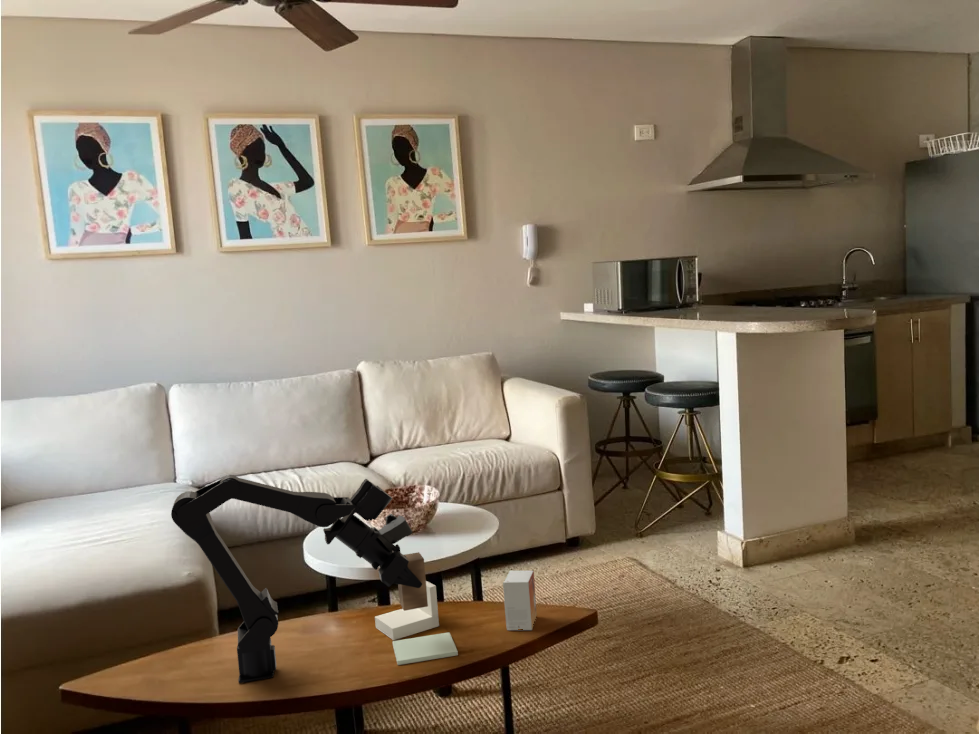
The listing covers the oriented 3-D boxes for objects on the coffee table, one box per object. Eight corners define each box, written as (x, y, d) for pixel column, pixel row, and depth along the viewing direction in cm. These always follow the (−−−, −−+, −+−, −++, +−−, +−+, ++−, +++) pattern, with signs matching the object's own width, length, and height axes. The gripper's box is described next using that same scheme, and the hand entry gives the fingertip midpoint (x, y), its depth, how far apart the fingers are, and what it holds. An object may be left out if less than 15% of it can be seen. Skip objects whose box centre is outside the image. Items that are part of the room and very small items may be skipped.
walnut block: (403, 610, 162) (399, 562, 162) (399, 602, 167) (395, 556, 167) (427, 606, 164) (423, 558, 163) (422, 598, 169) (419, 552, 168)
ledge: (393, 640, 168) (389, 598, 168) (375, 627, 176) (372, 587, 175) (439, 626, 174) (435, 585, 173) (420, 614, 182) (416, 575, 181)
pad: (397, 665, 156) (397, 661, 156) (392, 645, 166) (392, 641, 166) (457, 655, 159) (457, 651, 159) (449, 635, 168) (449, 632, 168)
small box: (532, 631, 168) (528, 582, 167) (506, 630, 169) (502, 582, 168) (537, 616, 176) (534, 569, 175) (512, 616, 177) (509, 569, 176)
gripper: (393, 516, 154) (453, 563, 158) (379, 497, 172) (433, 539, 176) (356, 563, 152) (417, 609, 156) (345, 538, 170) (400, 580, 174)
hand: (418, 582), depth 166 cm, fingers closed on walnut block, 5 cm apart
